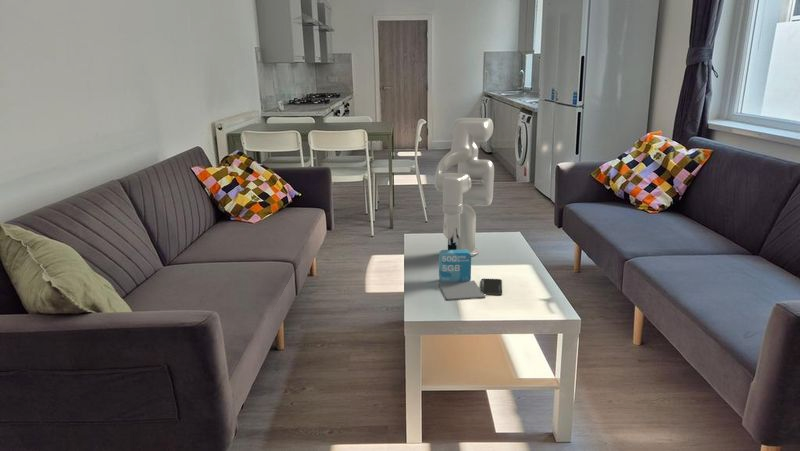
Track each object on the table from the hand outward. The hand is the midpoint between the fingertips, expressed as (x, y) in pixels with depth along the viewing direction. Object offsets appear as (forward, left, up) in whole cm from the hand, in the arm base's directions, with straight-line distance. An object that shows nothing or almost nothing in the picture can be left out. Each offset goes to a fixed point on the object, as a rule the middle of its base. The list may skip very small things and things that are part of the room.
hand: (452, 254), depth 214 cm
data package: (+5, 0, -10) cm, 11 cm away
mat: (+16, 0, -9) cm, 18 cm away
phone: (+14, +12, -10) cm, 21 cm away
